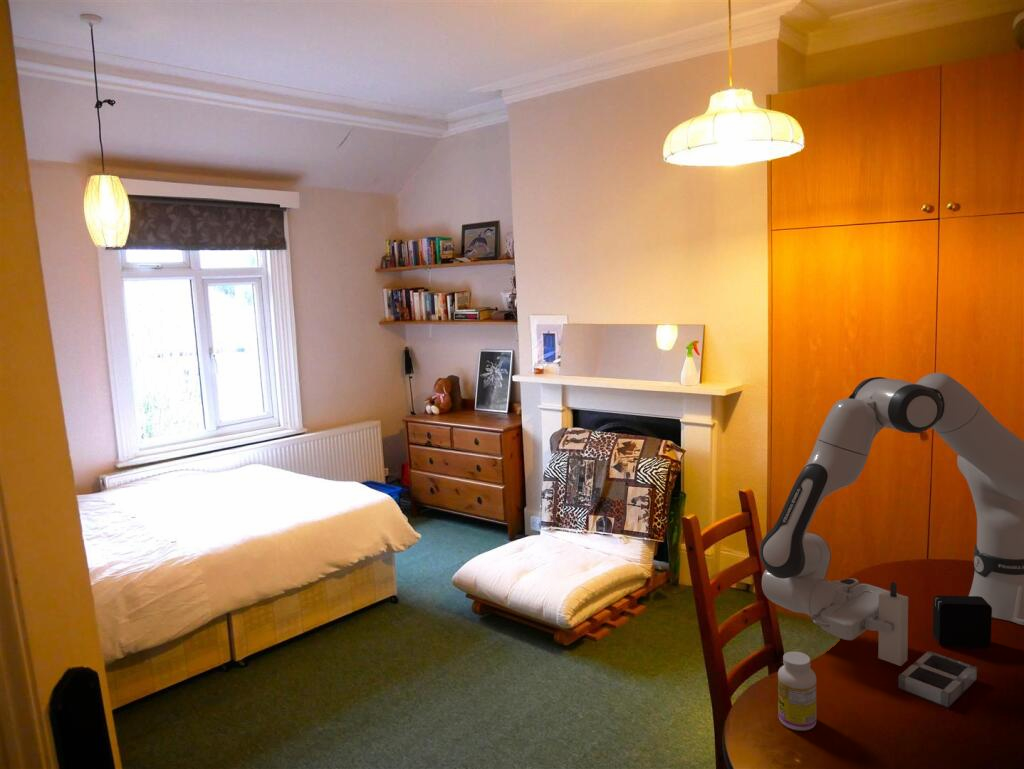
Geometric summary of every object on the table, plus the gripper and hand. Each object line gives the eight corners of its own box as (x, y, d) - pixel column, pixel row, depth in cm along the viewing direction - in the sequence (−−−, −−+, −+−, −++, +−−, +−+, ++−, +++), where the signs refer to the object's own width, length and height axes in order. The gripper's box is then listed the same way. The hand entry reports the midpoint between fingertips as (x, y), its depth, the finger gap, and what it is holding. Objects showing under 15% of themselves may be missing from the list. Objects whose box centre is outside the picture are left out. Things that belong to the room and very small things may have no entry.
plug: (878, 657, 153) (878, 581, 150) (885, 652, 155) (885, 576, 152) (900, 666, 149) (901, 587, 147) (907, 660, 151) (908, 582, 148)
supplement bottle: (778, 708, 141) (778, 646, 139) (816, 713, 139) (815, 650, 137) (777, 729, 135) (777, 664, 133) (816, 735, 132) (816, 669, 130)
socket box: (898, 688, 145) (898, 675, 144) (928, 663, 153) (928, 650, 152) (947, 708, 138) (948, 694, 137) (976, 680, 146) (976, 667, 145)
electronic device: (990, 648, 157) (992, 605, 155) (939, 647, 159) (940, 603, 157) (982, 639, 161) (983, 596, 159) (932, 637, 163) (933, 595, 161)
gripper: (806, 606, 154) (873, 628, 143) (855, 575, 166) (919, 593, 156) (807, 633, 155) (872, 658, 144) (855, 601, 167) (919, 621, 157)
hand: (897, 624), depth 150 cm, fingers closed on plug, 3 cm apart
